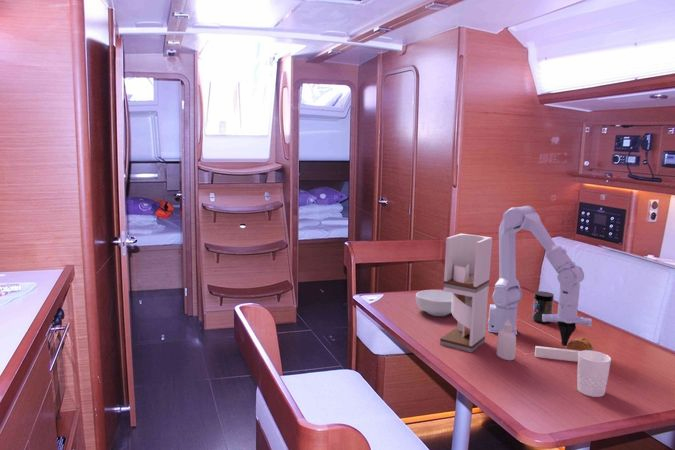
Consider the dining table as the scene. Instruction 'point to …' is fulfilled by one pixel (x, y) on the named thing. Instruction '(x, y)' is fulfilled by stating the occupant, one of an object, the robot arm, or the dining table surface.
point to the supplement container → (542, 305)
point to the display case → (467, 288)
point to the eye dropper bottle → (506, 342)
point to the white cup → (592, 373)
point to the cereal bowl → (434, 302)
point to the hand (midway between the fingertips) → (564, 344)
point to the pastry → (580, 345)
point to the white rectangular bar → (556, 353)
